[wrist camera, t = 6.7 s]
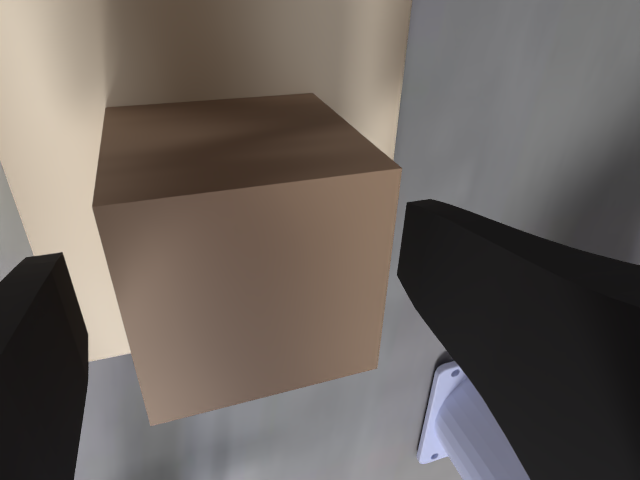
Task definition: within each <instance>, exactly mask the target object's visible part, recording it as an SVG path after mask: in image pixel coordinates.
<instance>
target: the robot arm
mask: <svg viewBox="0 0 640 480" xmlns="http://www.w3.org/2000/svg"><path fill="white" fill-rule="evenodd" d="M397 276H398V278H399V280H400V282H401V284H402V285H403V287H404V289H405V291H406V293H407V295H408V297H409V298H410V300H411V302H412V304H413V305H414V307H415V309H416V310H417V311H418V313H419V314H420V316H421V317H422V318H423V320H424V321H425V322H426V324H427V325H428V326H429V328H430V329H431V330H432V332H433V333H434V334H435V336H436V337H437V338H438V339H439V341H440V342H441V343H442V345H443V346H444V347H445V349H446V350H447V351H448V352H449V354H450V355H451V356H452V358H453V359H454V360H455V361H452V362H448V363H445V364H442V365H440V366H439V367H438V368H437V369H436V371H435V375H434V380H433V384H432V389H431V393H430V398H429V402H428V407H427V411H426V416H425V421H424V425H423V430H422V434H421V439H420V443H419V448H418V452H417V459H418V461H419V462H420V463H421V464H426V463H429V462H432V461H435V460H438V459H441V458H444V457H447V456H449V458H450V459H451V461H452V463H453V464H454V466H455V467H456V469H457V471H458V472H459V474H460V475H461V477H462V479H463V480H640V265H636V264H631V263H627V262H623V261H619V260H615V259H611V258H607V257H603V256H600V255H596V254H592V253H588V252H585V251H581V250H578V249H575V248H571V247H568V246H565V245H562V244H559V243H556V242H553V241H550V240H547V239H544V238H541V237H538V236H535V235H532V234H529V233H526V232H523V231H521V230H518V229H515V228H512V227H510V226H507V225H504V224H502V223H499V222H496V221H494V220H491V219H488V218H486V217H483V216H480V215H478V214H475V213H472V212H470V211H467V210H464V209H462V208H459V207H456V206H453V205H450V204H447V203H443V202H440V201H436V200H432V199H428V200H421V201H414V202H407V205H406V213H405V220H404V227H403V234H402V242H401V249H400V256H399V264H398V271H397ZM87 385H88V332H87V329H86V325H85V322H84V319H83V316H82V313H81V309H80V306H79V303H78V300H77V297H76V293H75V290H74V287H73V284H72V281H71V277H70V274H69V271H68V268H67V265H66V261H65V258H64V255H63V252H60V253H53V254H46V255H39V256H32V257H26V258H25V259H24V260H22V261H21V262H20V263H19V264H18V265H17V266H16V267H15V268H14V269H13V270H12V271H11V272H10V273H9V274H8V275H7V276H6V277H5V278H4V279H3V280H2V281H1V282H0V480H74V474H75V468H76V461H77V454H78V448H79V441H80V434H81V428H82V421H83V414H84V407H85V400H86V393H87Z"/></svg>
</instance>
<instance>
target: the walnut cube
mask: <svg viewBox="0 0 640 480" xmlns="http://www.w3.org/2000/svg"><path fill="white" fill-rule="evenodd" d="M401 172H402V168H401V167H400V166H399V165H398V164H396V163H395V162H394V161H393V160H392V159H390V158H389V157H388V156H387V155H386V154H385V153H383V152H382V151H381V150H380V149H379V148H377V147H376V146H375V145H374V144H373V143H372V142H370V141H369V140H368V139H367V138H366V137H364V136H363V135H362V134H361V133H360V132H359V131H357V130H356V129H355V128H354V127H353V126H351V125H350V124H349V123H348V122H347V121H345V120H344V119H343V118H342V117H341V116H340V115H338V114H337V113H336V112H335V111H334V110H332V109H331V108H330V107H329V106H328V105H327V104H325V103H324V102H323V101H322V100H321V99H319V98H318V97H317V96H316V95H315V94H314V93H305V94H290V95H276V96H262V97H247V98H233V99H219V100H204V101H190V102H176V103H162V104H147V105H133V106H119V107H105V114H104V121H103V129H102V136H101V143H100V151H99V158H98V166H97V173H96V180H95V188H94V195H93V202H92V209H93V213H94V217H95V220H96V224H97V228H98V232H99V235H100V239H101V243H102V247H103V250H104V254H105V258H106V261H107V265H108V269H109V273H110V276H111V280H112V284H113V288H114V291H115V295H116V299H117V302H118V306H119V310H120V314H121V317H122V321H123V325H124V329H125V332H126V336H127V340H128V343H129V347H130V351H131V355H132V358H133V362H134V366H135V370H136V373H137V377H138V381H139V384H140V388H141V392H142V396H143V399H144V403H145V407H146V411H147V414H148V418H149V422H150V425H151V426H154V425H157V424H161V423H165V422H169V421H173V420H177V419H181V418H185V417H189V416H193V415H197V414H200V413H204V412H208V411H212V410H216V409H220V408H224V407H228V406H232V405H236V404H240V403H244V402H247V401H251V400H255V399H259V398H263V397H267V396H271V395H275V394H279V393H283V392H287V391H290V390H294V389H298V388H302V387H306V386H310V385H314V384H318V383H322V382H326V381H330V380H333V379H337V378H341V377H345V376H349V375H353V374H357V373H361V372H365V371H369V370H373V369H376V368H377V365H378V357H379V349H380V341H381V333H382V325H383V317H384V309H385V301H386V293H387V285H388V277H389V269H390V261H391V253H392V245H393V237H394V229H395V221H396V213H397V205H398V197H399V188H400V180H401Z"/></svg>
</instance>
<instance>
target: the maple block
mask: <svg viewBox="0 0 640 480" xmlns="http://www.w3.org/2000/svg"><path fill="white" fill-rule="evenodd" d="M411 6H412V0H0V161H1V163H2V166H3V169H4V172H5V175H6V178H7V180H8V183H9V186H10V189H11V192H12V195H13V197H14V200H15V203H16V206H17V209H18V212H19V214H20V217H21V220H22V223H23V226H24V229H25V232H26V234H27V237H28V240H29V243H30V246H31V249H32V251H33V254H34V256H39V255H46V254H53V253H60V252H63V255H64V258H65V261H66V265H67V268H68V271H69V274H70V277H71V281H72V284H73V287H74V290H75V293H76V297H77V300H78V303H79V306H80V309H81V313H82V316H83V319H84V322H85V325H86V329H87V332H88V362H90V361H95V360H100V359H105V358H110V357H115V356H119V355H124V354H129V353H131V351H130V347H129V343H128V340H127V336H126V332H125V329H124V325H123V321H122V317H121V314H120V310H119V306H118V302H117V299H116V295H115V291H114V288H113V284H112V280H111V276H110V273H109V269H108V265H107V261H106V258H105V254H104V250H103V247H102V243H101V239H100V235H99V232H98V228H97V224H96V220H95V217H94V213H93V209H92V202H93V195H94V188H95V180H96V173H97V166H98V158H99V151H100V143H101V136H102V129H103V121H104V114H105V107H119V106H133V105H147V104H162V103H176V102H190V101H204V100H219V99H233V98H247V97H262V96H276V95H290V94H305V93H314V94H315V95H316V96H317V97H318V98H319V99H321V100H322V101H323V102H324V103H325V104H327V105H328V106H329V107H330V108H331V109H332V110H334V111H335V112H336V113H337V114H338V115H340V116H341V117H342V118H343V119H344V120H345V121H347V122H348V123H349V124H350V125H351V126H353V127H354V128H355V129H356V130H357V131H359V132H360V133H361V134H362V135H363V136H364V137H366V138H367V139H368V140H369V141H370V142H372V143H373V144H374V145H375V146H376V147H377V148H379V149H380V150H381V151H382V152H383V153H385V154H386V155H387V156H388V157H389V158H390V159H392V160H393V158H394V150H395V141H396V133H397V124H398V116H399V107H400V99H401V90H402V82H403V73H404V65H405V56H406V48H407V40H408V31H409V23H410V14H411Z"/></svg>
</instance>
